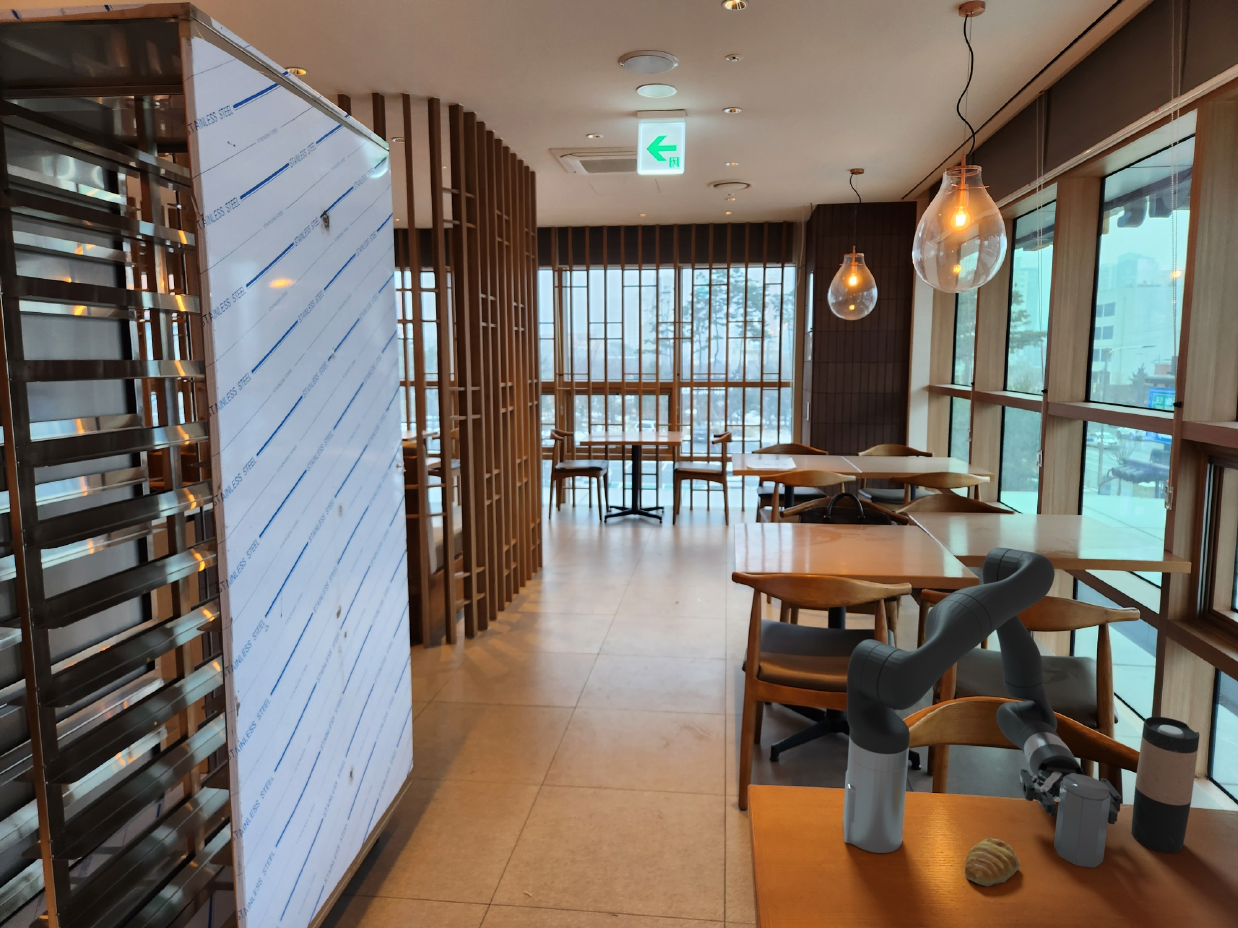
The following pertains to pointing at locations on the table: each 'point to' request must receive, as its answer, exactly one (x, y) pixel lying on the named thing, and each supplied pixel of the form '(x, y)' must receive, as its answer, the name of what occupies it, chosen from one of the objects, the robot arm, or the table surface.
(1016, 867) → the pastry
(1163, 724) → the travel mug
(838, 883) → the table surface
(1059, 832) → the canister
